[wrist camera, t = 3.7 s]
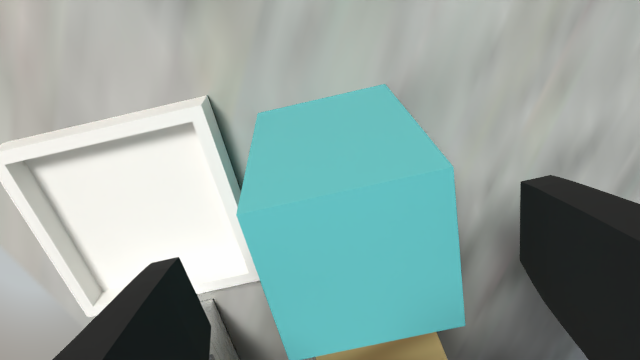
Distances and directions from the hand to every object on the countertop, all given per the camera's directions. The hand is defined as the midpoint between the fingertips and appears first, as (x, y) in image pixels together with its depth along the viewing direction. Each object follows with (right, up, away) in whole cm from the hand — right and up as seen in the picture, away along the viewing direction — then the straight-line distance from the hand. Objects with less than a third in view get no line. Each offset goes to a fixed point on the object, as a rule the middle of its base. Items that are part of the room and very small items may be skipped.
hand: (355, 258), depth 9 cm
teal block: (0, +2, +5) cm, 6 cm away
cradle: (-7, +1, +5) cm, 8 cm away
